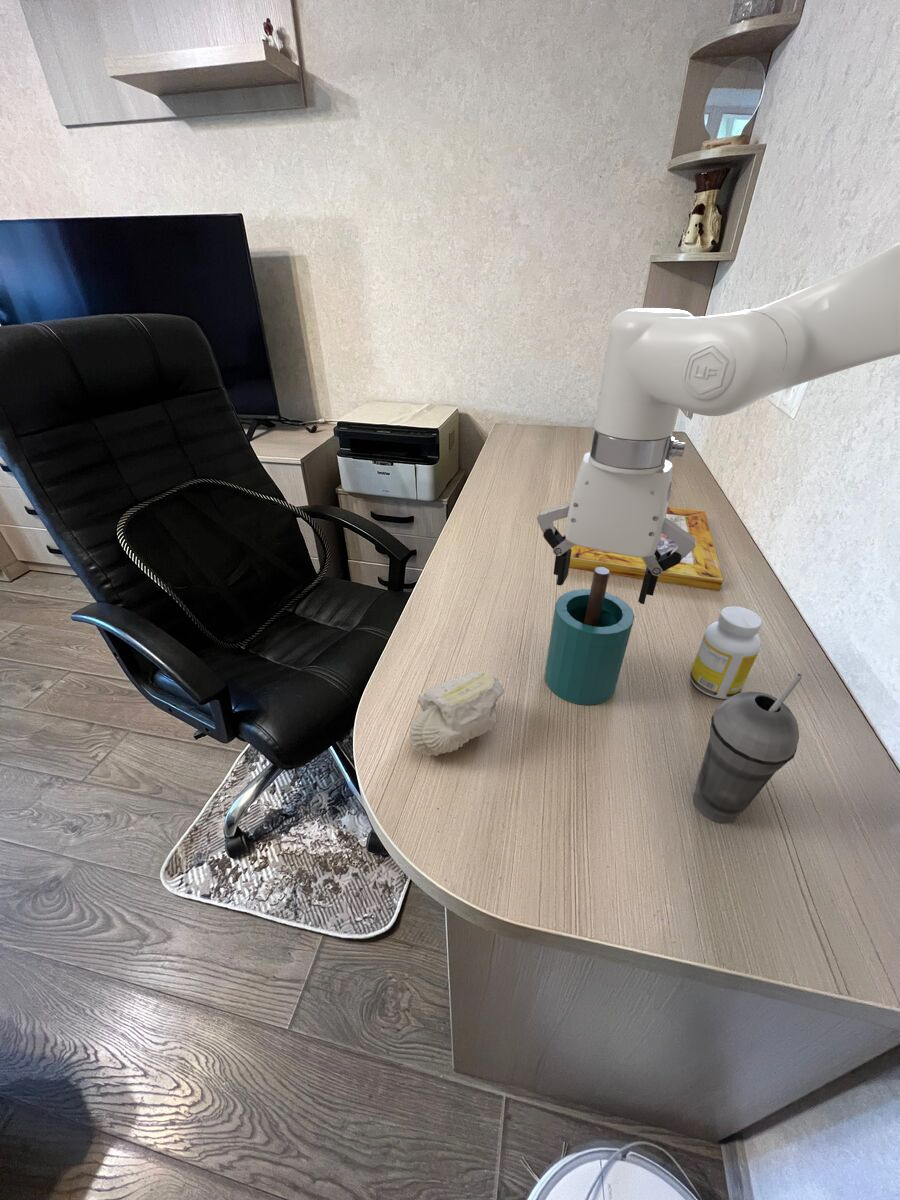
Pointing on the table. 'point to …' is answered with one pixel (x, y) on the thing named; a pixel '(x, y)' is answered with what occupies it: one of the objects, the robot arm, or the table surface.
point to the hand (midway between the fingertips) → (601, 588)
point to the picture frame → (691, 570)
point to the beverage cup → (744, 752)
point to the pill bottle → (727, 653)
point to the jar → (587, 648)
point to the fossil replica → (455, 713)
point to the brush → (596, 596)
